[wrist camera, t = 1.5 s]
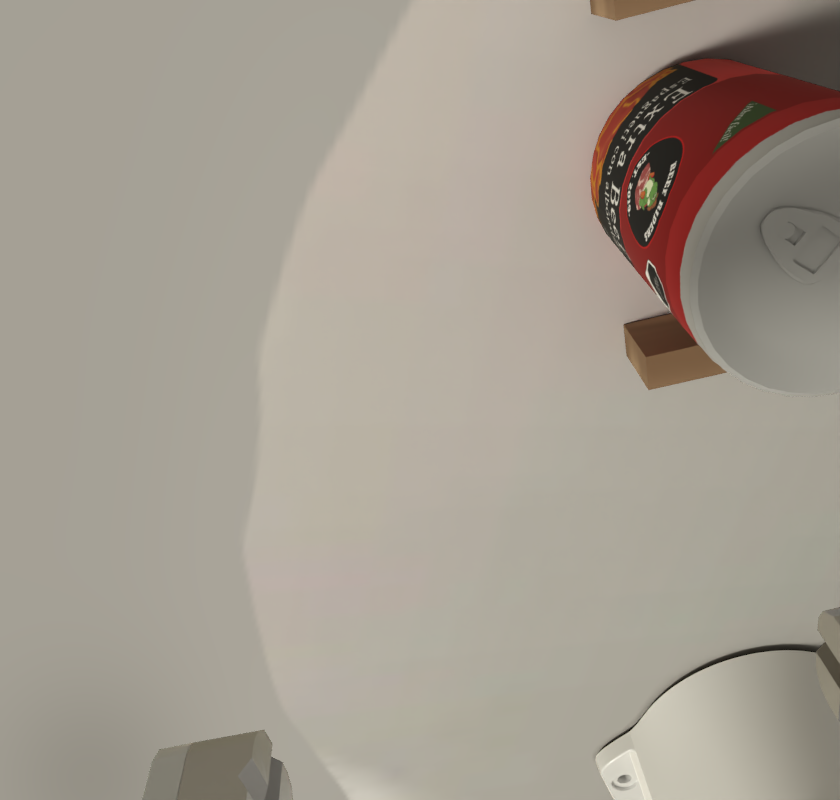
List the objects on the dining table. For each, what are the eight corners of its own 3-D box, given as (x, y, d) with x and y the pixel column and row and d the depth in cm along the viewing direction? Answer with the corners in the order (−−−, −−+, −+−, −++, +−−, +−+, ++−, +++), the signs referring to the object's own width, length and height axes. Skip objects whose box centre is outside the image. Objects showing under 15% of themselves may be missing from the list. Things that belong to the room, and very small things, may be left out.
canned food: (628, 28, 26) (772, 72, 17) (830, 87, 28) (1068, 157, 18) (554, 238, 30) (639, 369, 21) (737, 281, 32) (895, 422, 22)
